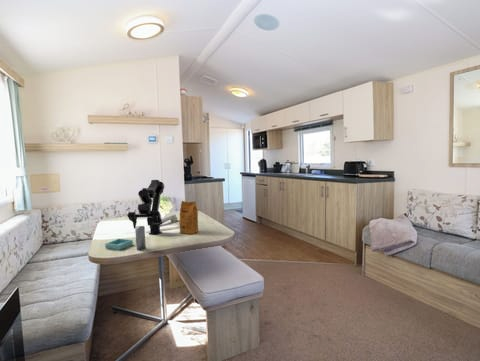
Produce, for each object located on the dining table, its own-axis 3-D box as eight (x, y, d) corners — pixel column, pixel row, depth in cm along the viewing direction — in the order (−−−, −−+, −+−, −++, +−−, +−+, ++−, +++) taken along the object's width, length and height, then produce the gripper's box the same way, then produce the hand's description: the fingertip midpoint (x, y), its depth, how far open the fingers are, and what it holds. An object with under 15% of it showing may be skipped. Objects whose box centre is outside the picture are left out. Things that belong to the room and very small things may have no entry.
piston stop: (140, 247, 167) (139, 225, 165) (147, 248, 165) (146, 226, 164) (134, 250, 162) (133, 227, 161) (141, 250, 160) (140, 228, 159)
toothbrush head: (148, 222, 213) (173, 211, 233) (150, 230, 214) (174, 219, 234) (153, 223, 210) (177, 212, 230) (154, 231, 211) (179, 220, 231)
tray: (119, 243, 176) (118, 238, 175) (132, 244, 172) (132, 239, 172) (105, 248, 166) (105, 243, 165) (119, 250, 162) (119, 245, 162)
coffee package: (185, 229, 202) (183, 199, 200) (200, 231, 198) (199, 200, 196) (177, 233, 193) (175, 202, 191) (193, 235, 189) (191, 202, 187)
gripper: (127, 199, 170) (121, 221, 160) (158, 198, 171) (155, 220, 161) (132, 209, 178) (127, 231, 168) (162, 208, 179) (159, 230, 169)
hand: (142, 227), depth 166 cm, fingers open, 9 cm apart
